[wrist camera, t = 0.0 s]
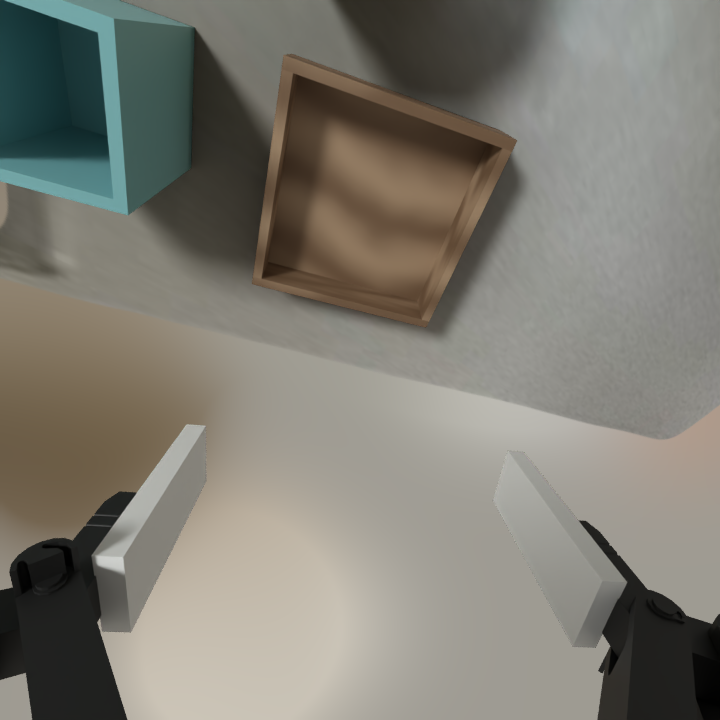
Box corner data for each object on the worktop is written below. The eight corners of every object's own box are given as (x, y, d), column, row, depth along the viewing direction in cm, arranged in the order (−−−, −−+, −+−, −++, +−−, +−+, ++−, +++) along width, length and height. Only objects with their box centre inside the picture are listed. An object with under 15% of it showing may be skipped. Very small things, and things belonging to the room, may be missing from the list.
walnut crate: (291, 53, 30) (283, 54, 26) (500, 130, 33) (517, 140, 30) (260, 263, 41) (251, 283, 37) (420, 305, 44) (425, 327, 41)
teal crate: (45, -27, 27) (-129, -68, 17) (194, 27, 29) (113, 18, 19) (68, 131, 33) (-51, 167, 23) (191, 168, 35) (128, 215, 25)
